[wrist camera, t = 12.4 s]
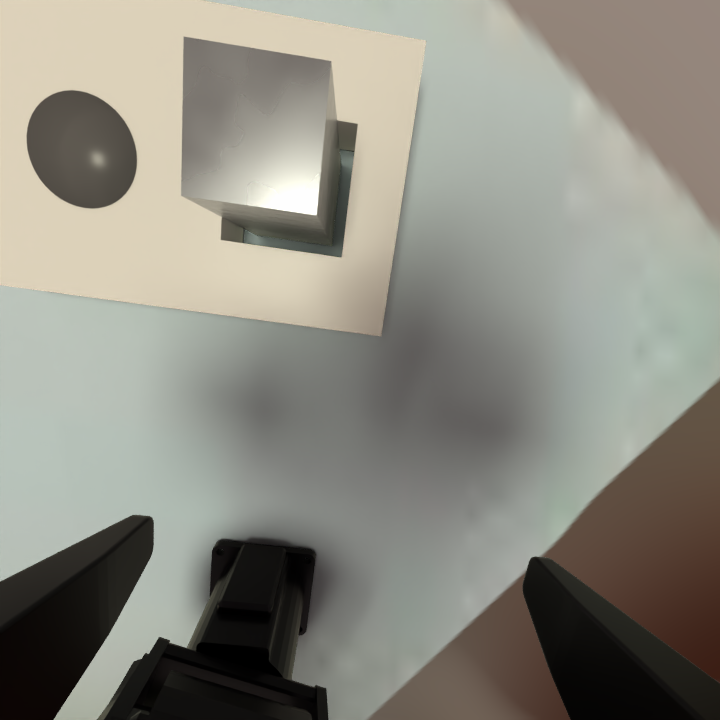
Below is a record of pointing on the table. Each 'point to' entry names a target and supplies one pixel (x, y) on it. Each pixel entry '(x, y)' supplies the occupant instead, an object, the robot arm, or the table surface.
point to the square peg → (261, 139)
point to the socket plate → (164, 161)
